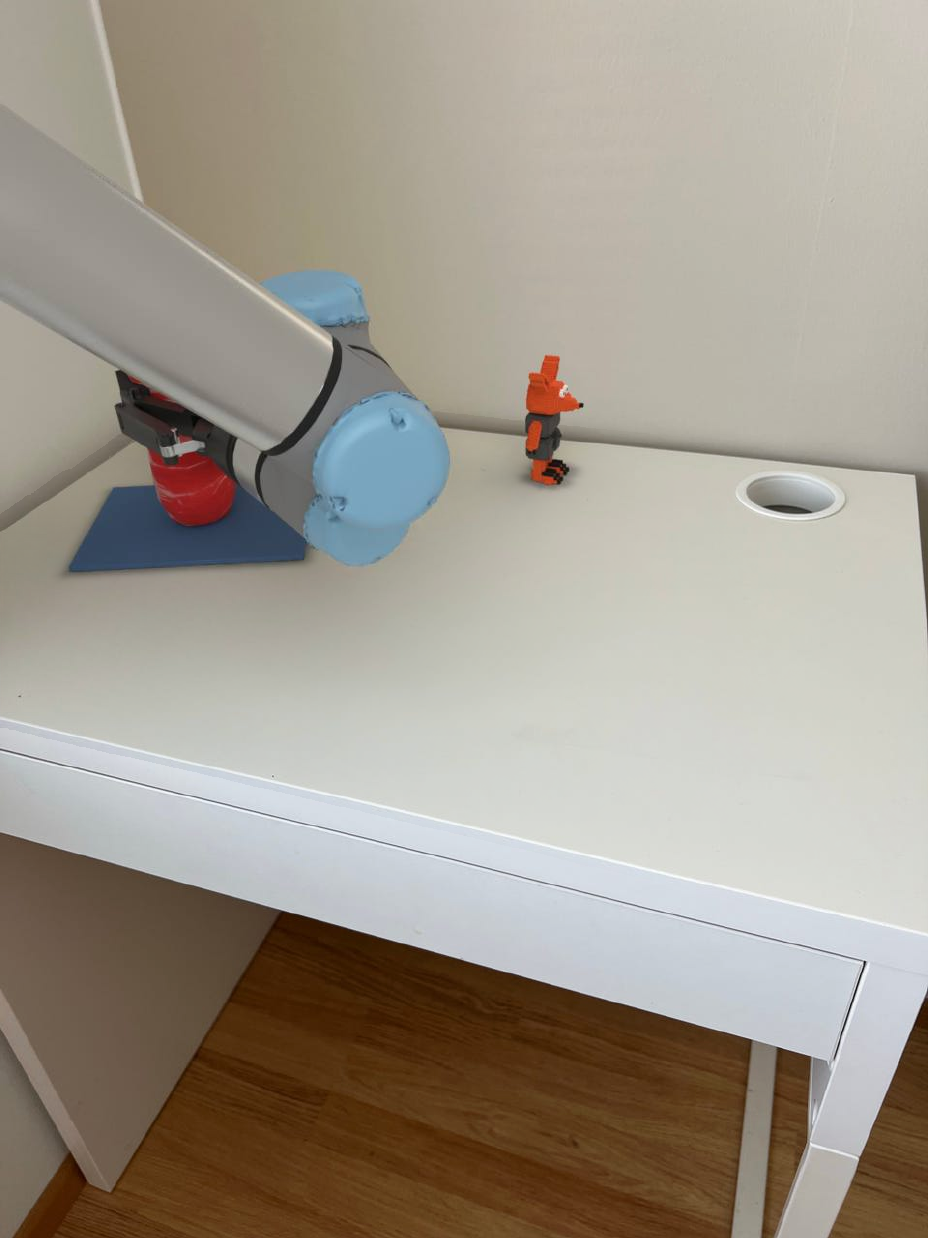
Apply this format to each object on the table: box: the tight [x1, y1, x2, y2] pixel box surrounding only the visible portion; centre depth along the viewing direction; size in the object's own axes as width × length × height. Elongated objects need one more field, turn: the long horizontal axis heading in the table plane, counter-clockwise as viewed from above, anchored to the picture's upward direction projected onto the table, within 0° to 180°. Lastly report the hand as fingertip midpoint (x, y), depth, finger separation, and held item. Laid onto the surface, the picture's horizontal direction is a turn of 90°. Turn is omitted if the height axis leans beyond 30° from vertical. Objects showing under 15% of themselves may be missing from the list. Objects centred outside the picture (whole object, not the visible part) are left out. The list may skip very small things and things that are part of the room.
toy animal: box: [524, 354, 584, 486], centre depth 101 cm, size 8×5×12 cm
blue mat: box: [68, 483, 308, 573], centre depth 100 cm, size 22×16×1 cm
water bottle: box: [127, 374, 236, 526], centre depth 93 cm, size 12×8×25 cm, turn 74°
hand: (161, 373), depth 95 cm, fingers closed on water bottle, 7 cm apart
